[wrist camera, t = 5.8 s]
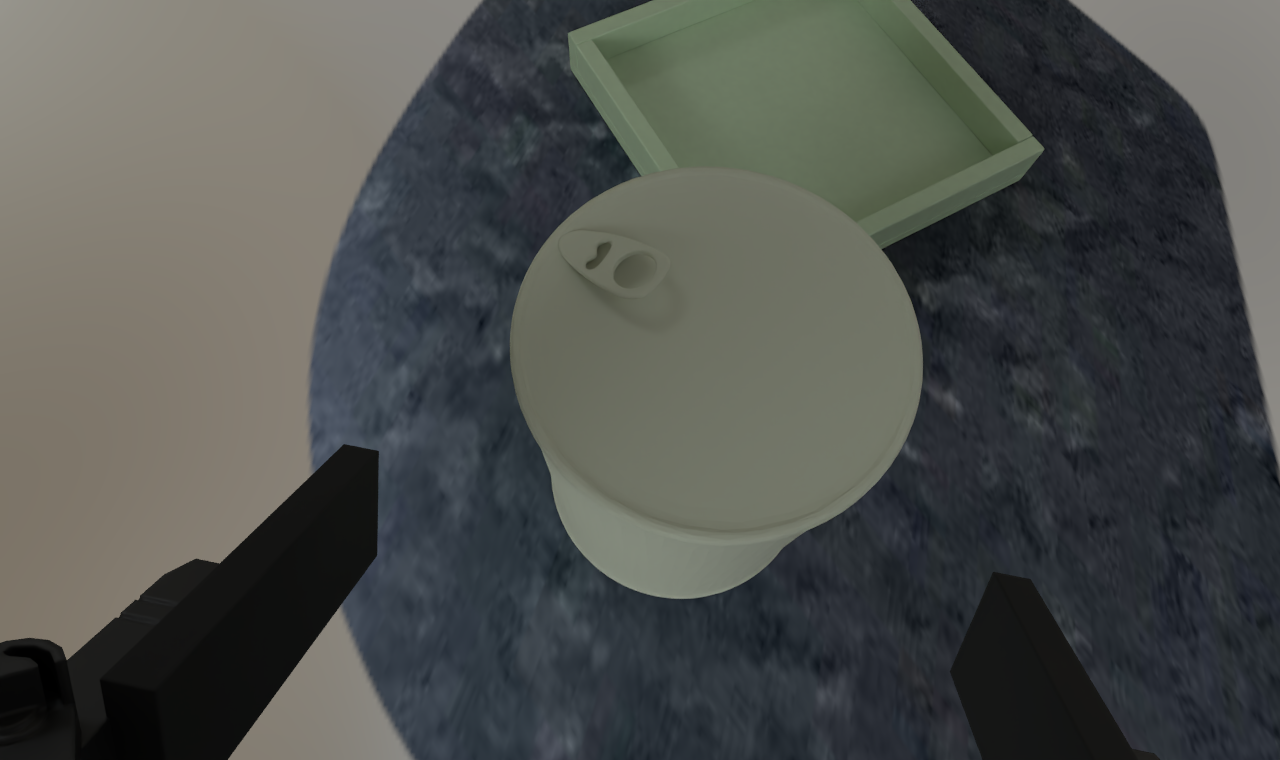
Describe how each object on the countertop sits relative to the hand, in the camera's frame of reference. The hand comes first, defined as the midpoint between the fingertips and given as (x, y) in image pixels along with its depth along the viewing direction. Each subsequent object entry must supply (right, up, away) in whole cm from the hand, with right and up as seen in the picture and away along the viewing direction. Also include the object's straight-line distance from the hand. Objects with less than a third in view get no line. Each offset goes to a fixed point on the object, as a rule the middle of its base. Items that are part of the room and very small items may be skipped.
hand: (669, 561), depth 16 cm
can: (+1, +1, +11) cm, 11 cm away
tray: (+6, +15, +17) cm, 24 cm away
